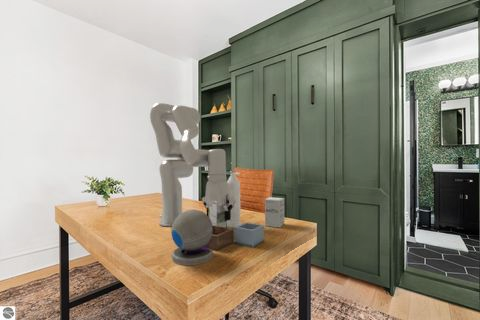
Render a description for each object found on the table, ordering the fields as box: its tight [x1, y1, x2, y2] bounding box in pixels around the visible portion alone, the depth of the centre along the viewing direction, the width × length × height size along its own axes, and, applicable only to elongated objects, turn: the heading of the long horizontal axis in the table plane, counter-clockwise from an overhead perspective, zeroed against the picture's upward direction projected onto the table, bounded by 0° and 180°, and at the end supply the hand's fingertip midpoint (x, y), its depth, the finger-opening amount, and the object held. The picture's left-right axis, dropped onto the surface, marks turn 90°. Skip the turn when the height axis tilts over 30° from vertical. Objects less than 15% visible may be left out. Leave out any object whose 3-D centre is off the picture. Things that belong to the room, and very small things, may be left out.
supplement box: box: [264, 196, 285, 229], centre depth 110 cm, size 7×7×13 cm
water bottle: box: [226, 171, 242, 229], centre depth 111 cm, size 9×6×25 cm
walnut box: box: [205, 225, 235, 252], centre depth 87 cm, size 10×10×5 cm
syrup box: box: [208, 201, 228, 228], centre depth 99 cm, size 6×6×14 cm
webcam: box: [170, 209, 214, 266], centre depth 76 cm, size 13×13×15 cm
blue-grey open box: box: [234, 222, 265, 249], centre depth 88 cm, size 8×8×6 cm
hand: (218, 218), depth 99 cm, fingers open, 9 cm apart
